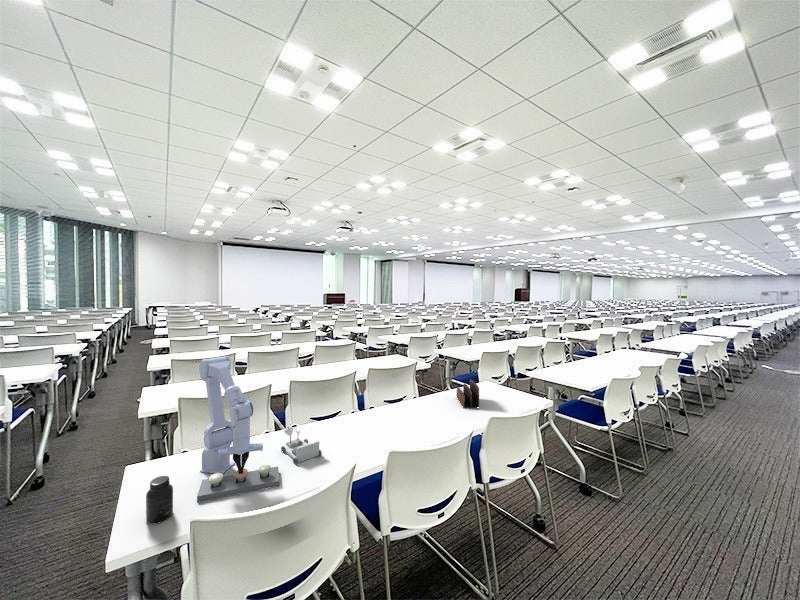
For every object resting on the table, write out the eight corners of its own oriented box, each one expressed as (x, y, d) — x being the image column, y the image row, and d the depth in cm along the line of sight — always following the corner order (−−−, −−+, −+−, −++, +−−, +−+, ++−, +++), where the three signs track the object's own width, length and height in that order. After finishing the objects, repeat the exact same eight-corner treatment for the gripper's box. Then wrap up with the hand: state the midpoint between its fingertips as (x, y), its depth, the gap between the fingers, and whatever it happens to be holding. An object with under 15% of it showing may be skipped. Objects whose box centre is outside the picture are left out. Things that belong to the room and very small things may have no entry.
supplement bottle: (140, 521, 101) (140, 483, 101) (163, 507, 107) (163, 471, 107) (155, 527, 99) (155, 488, 98) (178, 513, 105) (178, 476, 104)
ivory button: (208, 490, 114) (208, 481, 114) (209, 483, 118) (209, 474, 118) (222, 487, 116) (222, 478, 116) (223, 480, 120) (223, 472, 120)
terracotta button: (233, 485, 117) (233, 476, 117) (234, 478, 121) (234, 470, 121) (247, 482, 119) (247, 474, 119) (247, 476, 123) (247, 467, 123)
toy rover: (278, 428, 147) (303, 421, 155) (278, 449, 147) (302, 442, 155) (296, 443, 134) (322, 435, 141) (296, 467, 134) (321, 457, 142)
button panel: (197, 502, 110) (197, 496, 110) (202, 485, 120) (202, 479, 119) (279, 485, 120) (279, 480, 120) (278, 471, 130) (278, 466, 130)
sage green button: (258, 480, 120) (258, 472, 120) (258, 474, 124) (258, 466, 124) (271, 478, 122) (271, 470, 122) (270, 472, 126) (270, 463, 126)
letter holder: (470, 398, 223) (471, 377, 223) (479, 409, 203) (480, 386, 203) (456, 397, 223) (456, 377, 222) (463, 408, 203) (464, 386, 202)
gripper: (217, 443, 113) (217, 482, 113) (262, 437, 118) (262, 474, 119) (219, 435, 119) (219, 471, 120) (262, 429, 125) (262, 464, 125)
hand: (241, 472), depth 120 cm, fingers closed
